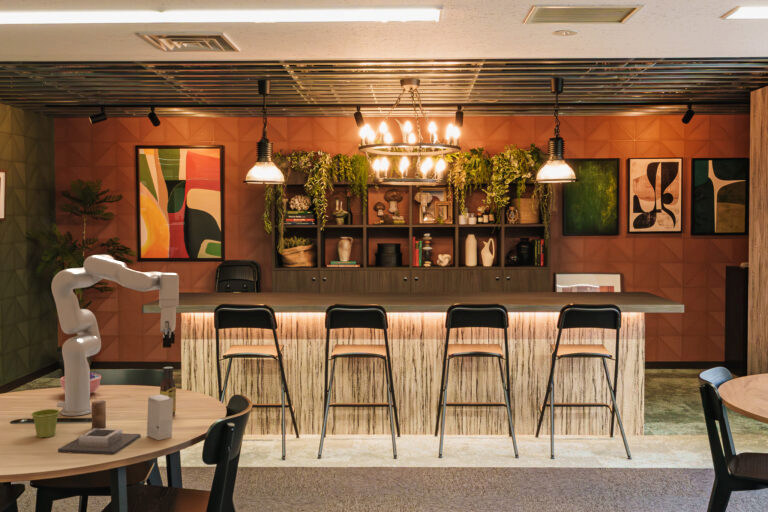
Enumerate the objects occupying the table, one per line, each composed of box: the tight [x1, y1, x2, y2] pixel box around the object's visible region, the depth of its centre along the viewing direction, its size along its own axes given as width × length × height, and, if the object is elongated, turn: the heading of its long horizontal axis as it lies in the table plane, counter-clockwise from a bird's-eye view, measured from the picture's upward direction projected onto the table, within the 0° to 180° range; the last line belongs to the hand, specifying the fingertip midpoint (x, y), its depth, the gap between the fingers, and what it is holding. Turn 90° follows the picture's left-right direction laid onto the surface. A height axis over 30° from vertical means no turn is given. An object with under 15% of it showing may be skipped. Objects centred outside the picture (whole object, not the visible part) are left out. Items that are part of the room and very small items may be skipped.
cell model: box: [60, 372, 102, 395], centre depth 314 cm, size 17×20×11 cm
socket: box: [57, 428, 142, 455], centre depth 242 cm, size 20×20×4 cm
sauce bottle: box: [159, 366, 177, 417], centre depth 279 cm, size 6×6×20 cm
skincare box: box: [146, 394, 174, 441], centre depth 251 cm, size 8×6×15 cm
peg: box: [91, 399, 107, 430], centre depth 262 cm, size 5×5×10 cm
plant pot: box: [31, 408, 61, 439], centre depth 251 cm, size 9×9×9 cm
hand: (168, 345), depth 275 cm, fingers open, 9 cm apart
